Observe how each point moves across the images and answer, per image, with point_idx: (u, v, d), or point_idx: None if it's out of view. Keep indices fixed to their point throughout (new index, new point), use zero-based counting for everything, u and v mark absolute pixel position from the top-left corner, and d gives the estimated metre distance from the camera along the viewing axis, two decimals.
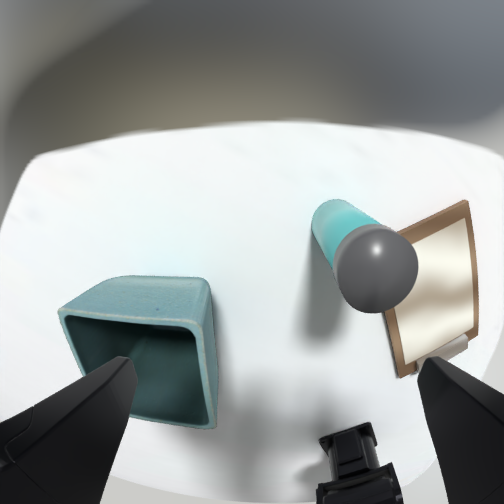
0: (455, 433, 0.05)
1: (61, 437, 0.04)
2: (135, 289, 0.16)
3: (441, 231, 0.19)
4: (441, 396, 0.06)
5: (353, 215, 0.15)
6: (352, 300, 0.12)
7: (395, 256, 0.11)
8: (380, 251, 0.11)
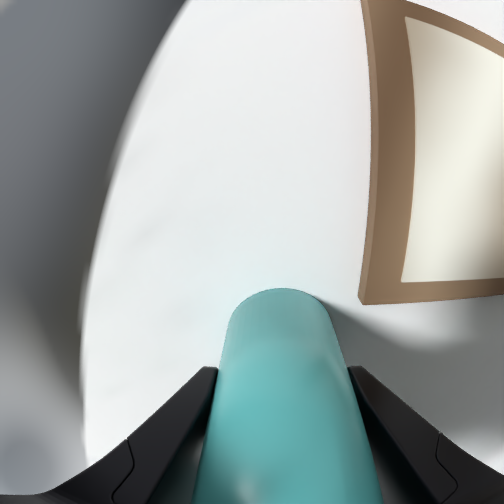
0: None
1: (169, 471, 0.04)
2: None
3: (418, 93, 0.06)
4: None
5: None
6: None
7: None
8: None
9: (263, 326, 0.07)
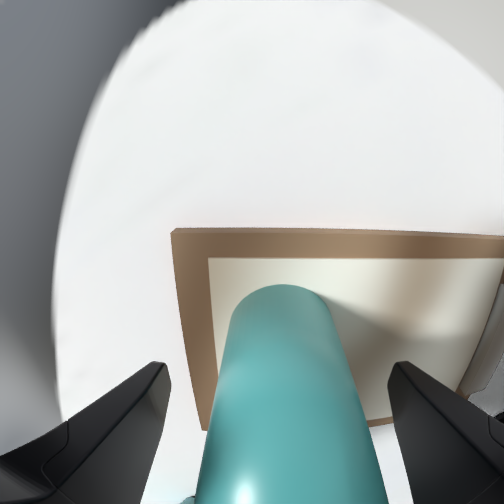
0: (422, 443, 0.05)
1: (101, 453, 0.04)
2: None
3: (218, 328, 0.10)
4: (408, 403, 0.06)
5: (204, 449, 0.05)
6: None
7: None
8: None
9: (266, 321, 0.07)
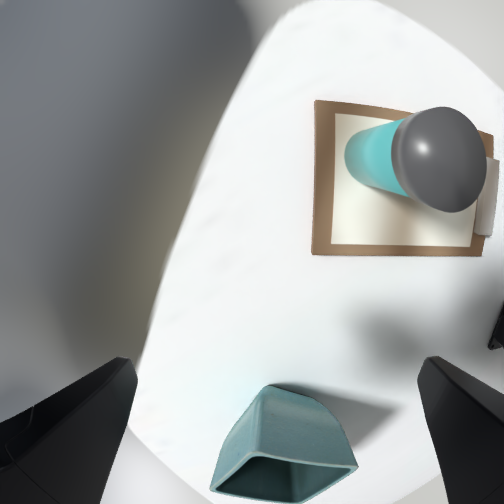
0: (455, 433, 0.05)
1: (61, 437, 0.04)
2: (231, 443, 0.19)
3: (337, 155, 0.17)
4: (441, 396, 0.06)
5: (373, 145, 0.11)
6: (461, 204, 0.08)
7: (440, 133, 0.08)
8: (428, 148, 0.08)
9: (373, 127, 0.14)
